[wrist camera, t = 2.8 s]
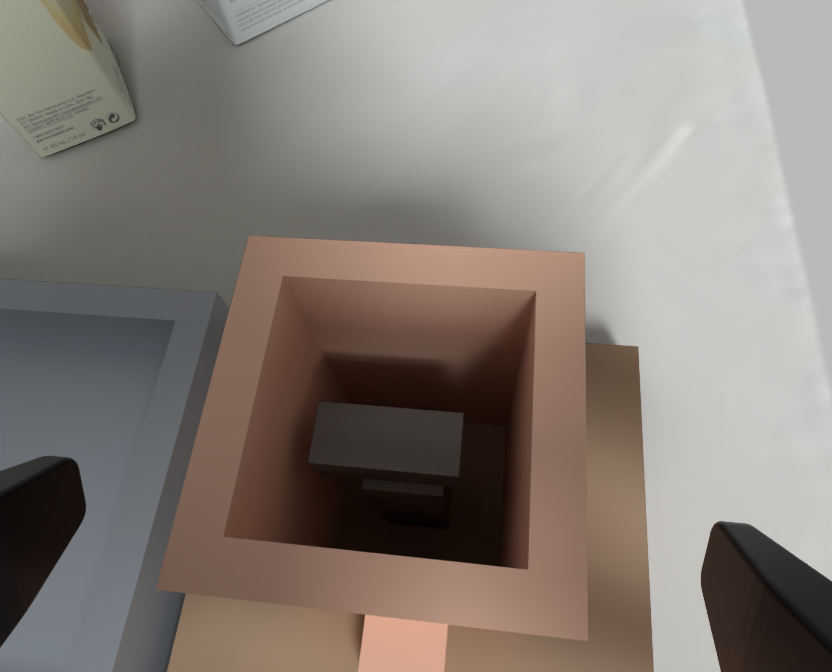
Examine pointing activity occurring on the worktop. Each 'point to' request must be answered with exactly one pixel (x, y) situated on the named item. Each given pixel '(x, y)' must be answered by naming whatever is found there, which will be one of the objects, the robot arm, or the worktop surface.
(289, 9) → the supplement box
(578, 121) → the worktop surface
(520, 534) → the terracotta collar
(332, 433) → the walnut base
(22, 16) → the skincare box
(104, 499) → the charcoal tray
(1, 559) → the robot arm
